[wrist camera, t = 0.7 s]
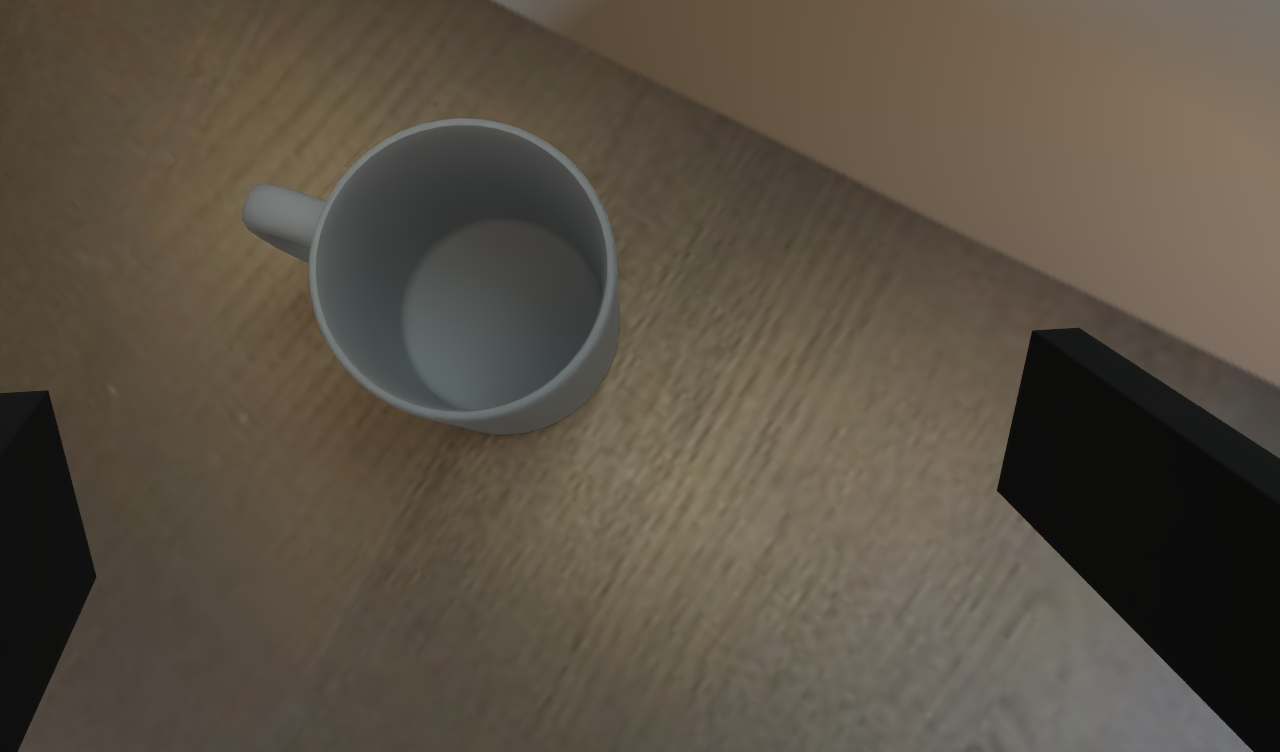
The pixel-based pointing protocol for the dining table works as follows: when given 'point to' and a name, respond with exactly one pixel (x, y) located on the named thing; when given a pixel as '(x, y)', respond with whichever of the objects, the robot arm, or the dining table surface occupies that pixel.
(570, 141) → the dining table surface
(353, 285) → the mug
